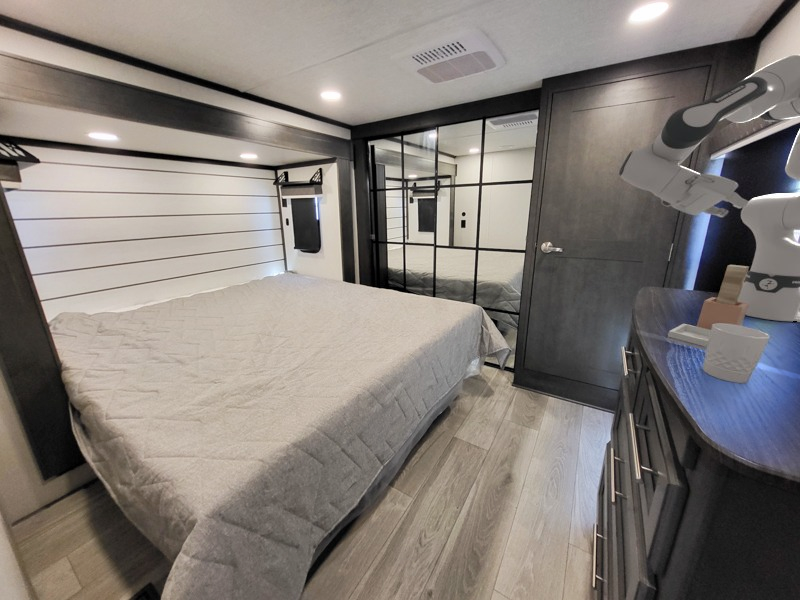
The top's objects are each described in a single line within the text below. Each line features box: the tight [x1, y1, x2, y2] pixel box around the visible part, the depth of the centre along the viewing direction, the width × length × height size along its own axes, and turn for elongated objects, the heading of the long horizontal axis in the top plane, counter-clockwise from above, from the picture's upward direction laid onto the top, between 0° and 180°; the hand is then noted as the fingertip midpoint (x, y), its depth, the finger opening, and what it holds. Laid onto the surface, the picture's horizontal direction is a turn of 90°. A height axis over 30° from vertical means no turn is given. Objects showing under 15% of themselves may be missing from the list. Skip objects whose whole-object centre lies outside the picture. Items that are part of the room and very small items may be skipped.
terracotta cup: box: [696, 296, 749, 330], centre depth 86 cm, size 7×7×9 cm
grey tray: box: [666, 323, 711, 352], centre depth 79 cm, size 11×11×2 cm
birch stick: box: [716, 264, 750, 306], centre depth 84 cm, size 3×3×18 cm
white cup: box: [701, 323, 771, 384], centre depth 63 cm, size 8×8×10 cm
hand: (734, 210), depth 81 cm, fingers open, 8 cm apart
